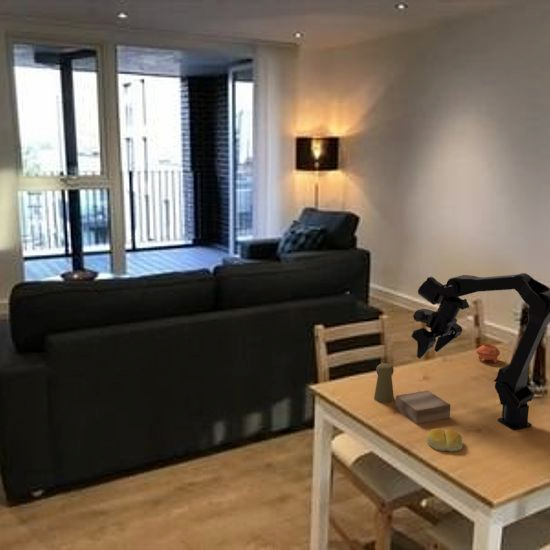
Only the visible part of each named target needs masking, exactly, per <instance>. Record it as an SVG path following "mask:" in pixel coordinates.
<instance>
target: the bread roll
mask: <svg viewBox="0 0 550 550" xmlns="http://www.w3.org/2000/svg"><path fill="white" fill-rule="evenodd" d="M426 442H427V444H428V446H430V447H431V448H433V449H434V450H437V451H441V452H446V451H448V452H453V451H454V452H458V451H460V450H463V436H462V435H461V434H460V432H458V431H456V430H454V429H446V430H444V429H441V428H439V427H438V428H434V429H432V430H430V431H429V432H428V433H427V435H426Z"/></svg>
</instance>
